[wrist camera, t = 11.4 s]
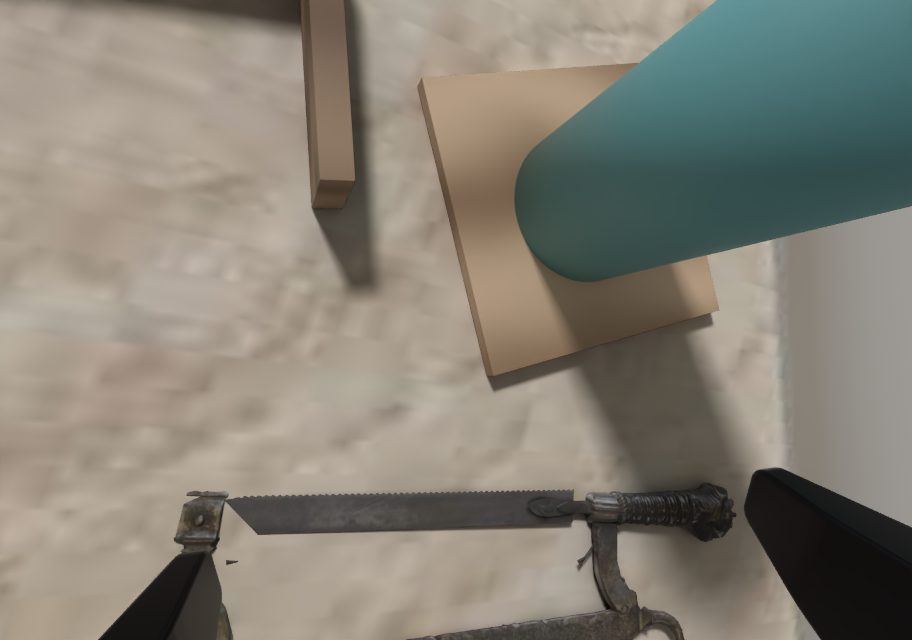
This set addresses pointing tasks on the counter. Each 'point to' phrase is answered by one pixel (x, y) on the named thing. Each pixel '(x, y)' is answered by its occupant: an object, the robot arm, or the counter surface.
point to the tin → (729, 139)
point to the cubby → (327, 102)
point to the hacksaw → (576, 636)
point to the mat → (498, 234)
